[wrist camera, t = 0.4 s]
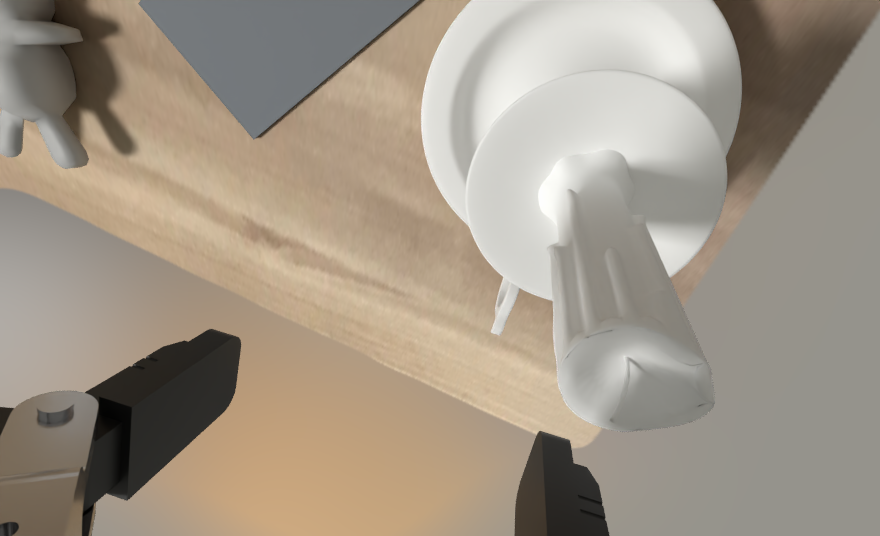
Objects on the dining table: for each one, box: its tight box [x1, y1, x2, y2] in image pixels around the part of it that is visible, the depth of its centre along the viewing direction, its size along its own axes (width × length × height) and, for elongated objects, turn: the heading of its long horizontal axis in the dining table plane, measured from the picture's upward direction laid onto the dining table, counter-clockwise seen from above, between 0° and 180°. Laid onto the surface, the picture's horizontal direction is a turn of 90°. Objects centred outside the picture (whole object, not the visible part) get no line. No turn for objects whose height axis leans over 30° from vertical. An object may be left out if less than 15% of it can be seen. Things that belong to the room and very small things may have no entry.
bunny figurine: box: [0, 0, 89, 169], centre depth 38 cm, size 10×5×15 cm
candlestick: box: [421, 0, 742, 432], centre depth 25 cm, size 21×25×28 cm
